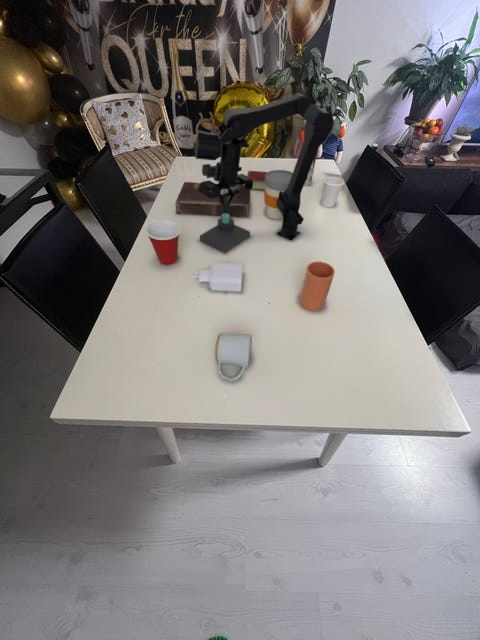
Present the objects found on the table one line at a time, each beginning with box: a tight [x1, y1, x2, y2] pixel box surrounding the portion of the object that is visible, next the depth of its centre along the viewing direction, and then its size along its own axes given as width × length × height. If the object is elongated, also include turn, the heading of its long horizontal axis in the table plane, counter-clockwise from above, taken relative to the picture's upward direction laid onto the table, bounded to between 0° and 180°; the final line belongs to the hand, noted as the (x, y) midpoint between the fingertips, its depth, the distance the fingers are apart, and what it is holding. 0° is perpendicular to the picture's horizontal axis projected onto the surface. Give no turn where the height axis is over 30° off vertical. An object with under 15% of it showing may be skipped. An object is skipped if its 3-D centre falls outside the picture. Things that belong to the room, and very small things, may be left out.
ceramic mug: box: [214, 332, 253, 382], centre depth 69 cm, size 11×8×8 cm
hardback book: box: [175, 181, 252, 219], centre depth 124 cm, size 29×19×5 cm, turn 86°
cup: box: [298, 261, 335, 312], centre depth 83 cm, size 7×7×12 cm
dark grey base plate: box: [199, 216, 251, 254], centre depth 108 cm, size 14×12×4 cm
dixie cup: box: [321, 176, 345, 208], centre depth 126 cm, size 8×8×10 cm
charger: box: [192, 261, 244, 293], centre depth 91 cm, size 5×9×15 cm
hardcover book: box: [246, 170, 268, 192], centre depth 139 cm, size 12×21×4 cm, turn 83°
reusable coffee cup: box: [263, 169, 293, 220], centre depth 117 cm, size 13×13×15 cm
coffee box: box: [299, 141, 319, 187], centre depth 139 cm, size 9×6×16 cm
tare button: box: [221, 213, 231, 223], centre depth 109 cm, size 3×3×2 cm
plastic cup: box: [144, 219, 182, 266], centre depth 95 cm, size 11×11×12 cm
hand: (223, 211), depth 99 cm, fingers closed
